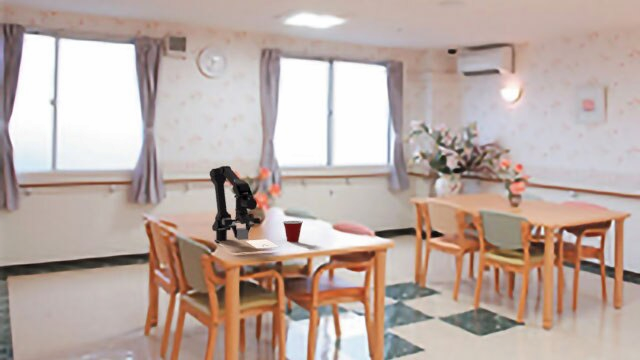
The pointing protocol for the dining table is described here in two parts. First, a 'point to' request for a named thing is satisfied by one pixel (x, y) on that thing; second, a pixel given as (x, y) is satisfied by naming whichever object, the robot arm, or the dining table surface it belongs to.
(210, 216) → the dining table surface
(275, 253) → the dining table surface
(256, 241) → the primed board
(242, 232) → the block
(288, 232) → the plastic cup
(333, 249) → the dining table surface
